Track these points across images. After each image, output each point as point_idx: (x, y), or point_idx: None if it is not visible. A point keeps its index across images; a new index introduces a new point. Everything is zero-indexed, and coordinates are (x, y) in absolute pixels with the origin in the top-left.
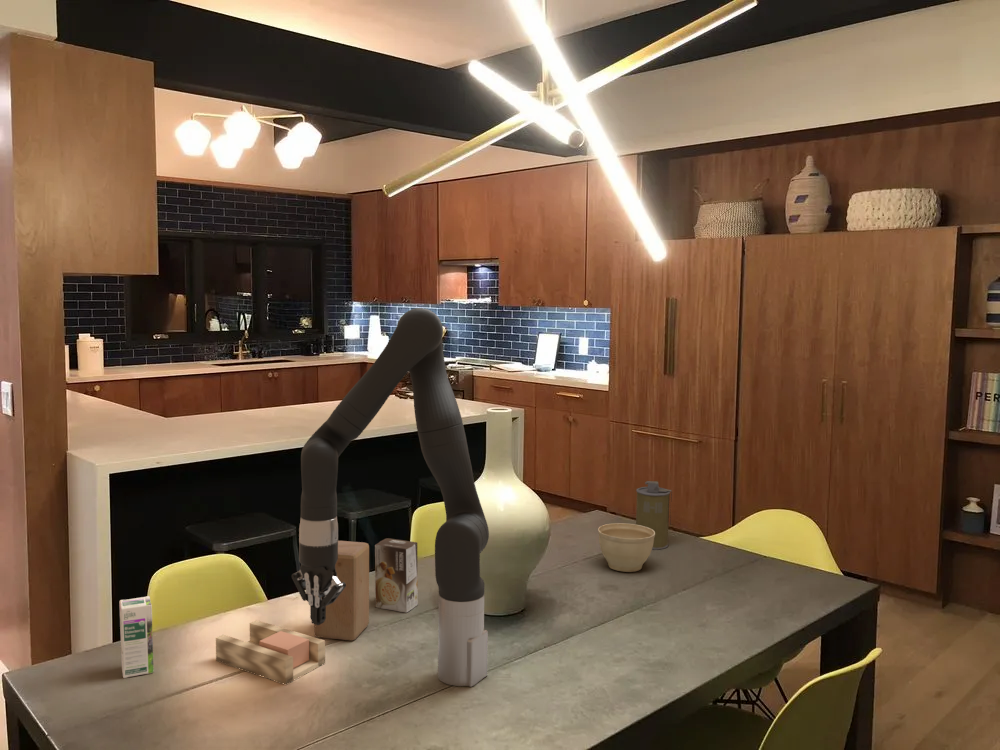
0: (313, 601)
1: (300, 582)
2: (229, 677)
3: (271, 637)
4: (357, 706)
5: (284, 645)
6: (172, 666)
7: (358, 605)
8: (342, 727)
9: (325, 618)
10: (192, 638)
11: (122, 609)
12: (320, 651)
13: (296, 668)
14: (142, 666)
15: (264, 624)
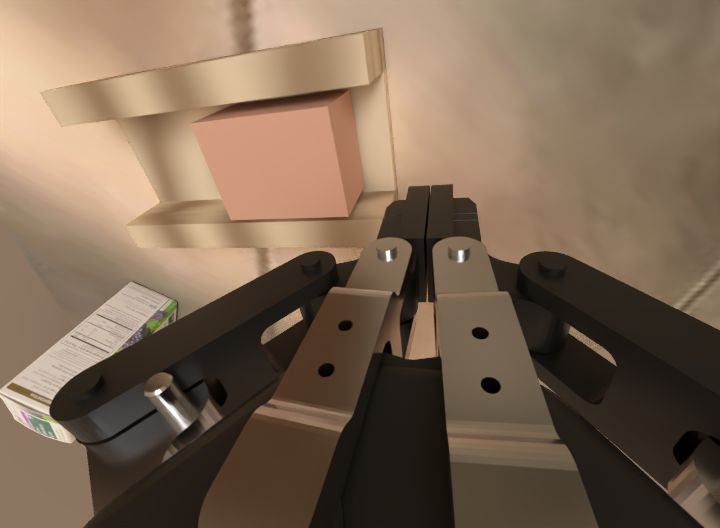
0: (413, 325)
1: (231, 409)
2: (271, 250)
3: (226, 181)
4: (691, 184)
5: (311, 200)
6: (164, 272)
7: None
8: (695, 280)
9: (475, 206)
10: (36, 174)
11: (72, 440)
12: (375, 63)
13: (363, 152)
14: (167, 323)
15: (88, 100)
